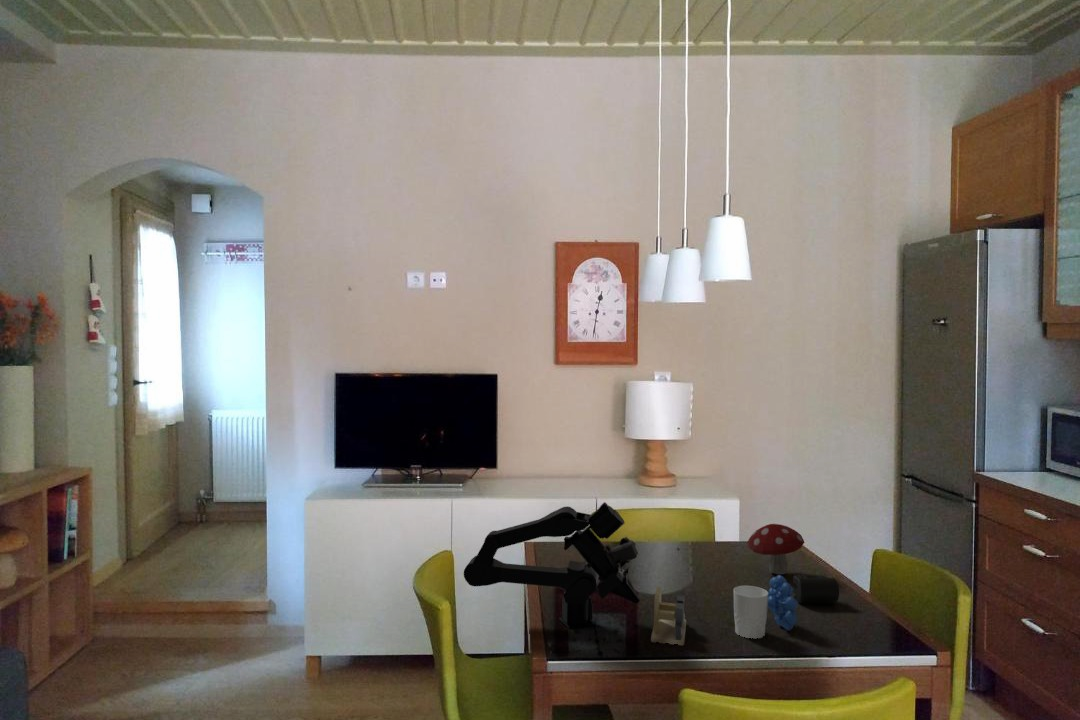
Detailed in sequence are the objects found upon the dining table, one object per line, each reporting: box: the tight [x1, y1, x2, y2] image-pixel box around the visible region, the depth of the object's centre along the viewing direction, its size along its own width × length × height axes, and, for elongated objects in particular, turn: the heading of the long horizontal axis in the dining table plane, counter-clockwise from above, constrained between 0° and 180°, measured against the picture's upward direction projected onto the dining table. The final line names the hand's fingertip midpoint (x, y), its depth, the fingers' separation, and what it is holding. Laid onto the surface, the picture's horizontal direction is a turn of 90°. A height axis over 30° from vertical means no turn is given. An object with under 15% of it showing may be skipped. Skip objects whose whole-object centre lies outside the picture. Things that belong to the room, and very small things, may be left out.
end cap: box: [792, 574, 840, 605], centre depth 193 cm, size 10×7×7 cm
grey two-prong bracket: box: [674, 595, 686, 640], centre depth 171 cm, size 2×12×6 cm, turn 166°
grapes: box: [767, 574, 799, 631], centre depth 176 cm, size 12×7×12 cm, turn 11°
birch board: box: [650, 619, 687, 646], centre depth 172 cm, size 7×13×1 cm, turn 166°
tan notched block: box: [653, 586, 676, 633], centre depth 172 cm, size 4×8×8 cm, turn 166°
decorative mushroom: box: [747, 523, 805, 575], centre depth 215 cm, size 16×16×15 cm
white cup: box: [732, 585, 769, 640], centre depth 172 cm, size 8×8×10 cm
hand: (638, 601), depth 173 cm, fingers closed
